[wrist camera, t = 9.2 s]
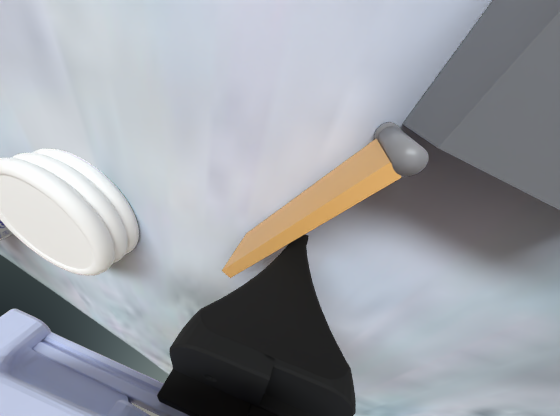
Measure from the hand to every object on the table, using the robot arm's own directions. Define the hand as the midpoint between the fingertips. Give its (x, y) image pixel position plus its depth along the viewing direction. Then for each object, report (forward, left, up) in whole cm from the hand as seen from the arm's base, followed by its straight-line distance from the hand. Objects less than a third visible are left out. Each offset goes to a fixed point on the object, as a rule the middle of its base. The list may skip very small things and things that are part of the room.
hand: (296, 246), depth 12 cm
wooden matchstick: (+1, -3, -1) cm, 3 cm away
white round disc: (+16, +8, -2) cm, 18 cm away
